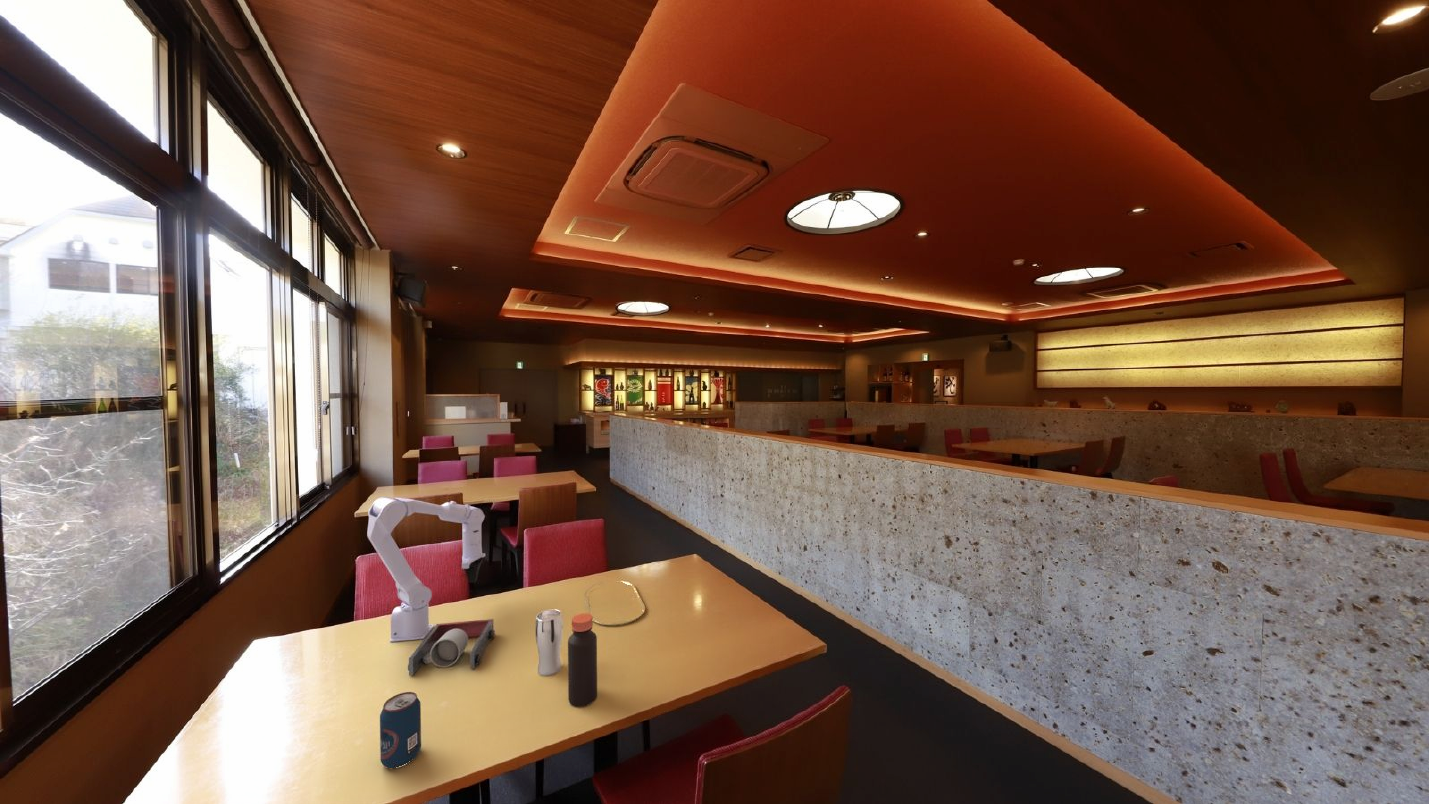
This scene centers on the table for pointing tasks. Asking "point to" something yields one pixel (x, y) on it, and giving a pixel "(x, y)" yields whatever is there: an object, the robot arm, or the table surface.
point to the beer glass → (549, 641)
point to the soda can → (400, 729)
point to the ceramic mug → (447, 648)
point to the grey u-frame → (470, 627)
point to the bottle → (582, 662)
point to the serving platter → (616, 581)
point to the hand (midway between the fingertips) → (472, 581)
